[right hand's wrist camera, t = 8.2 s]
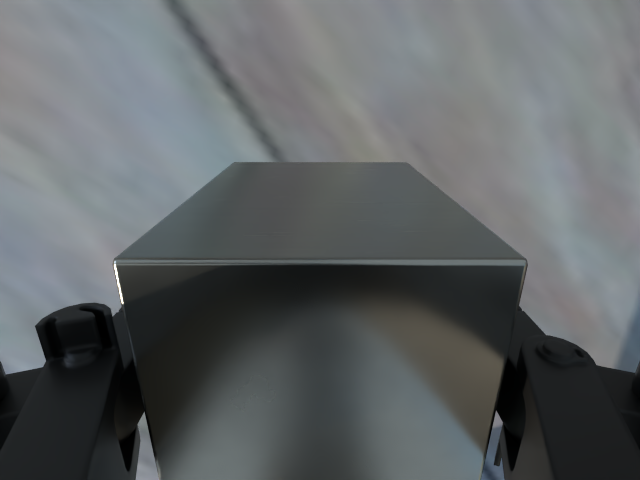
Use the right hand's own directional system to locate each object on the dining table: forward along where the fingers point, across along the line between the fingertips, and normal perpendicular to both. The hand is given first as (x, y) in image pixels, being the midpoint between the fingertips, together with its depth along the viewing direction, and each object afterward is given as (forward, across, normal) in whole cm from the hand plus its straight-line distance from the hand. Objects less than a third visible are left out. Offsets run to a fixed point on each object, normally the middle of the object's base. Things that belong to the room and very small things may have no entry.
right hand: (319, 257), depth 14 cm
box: (+1, 0, -10) cm, 10 cm away
